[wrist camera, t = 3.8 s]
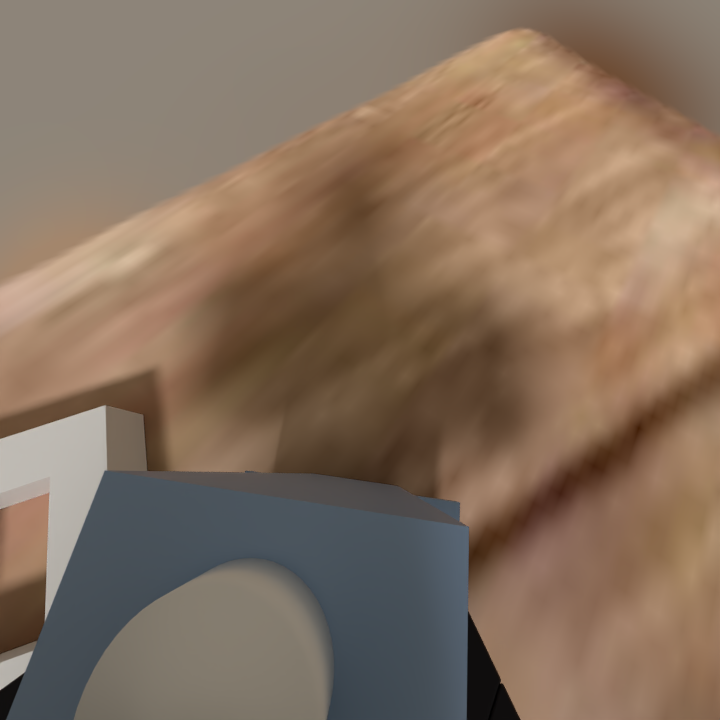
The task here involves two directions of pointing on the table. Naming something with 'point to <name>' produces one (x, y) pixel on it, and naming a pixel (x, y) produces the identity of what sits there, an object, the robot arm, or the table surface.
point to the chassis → (65, 485)
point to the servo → (256, 603)
